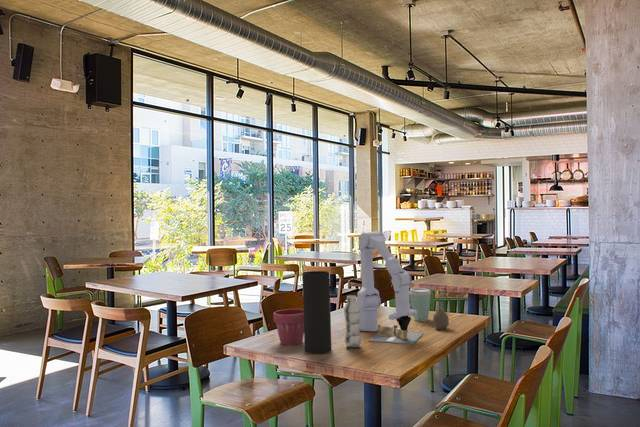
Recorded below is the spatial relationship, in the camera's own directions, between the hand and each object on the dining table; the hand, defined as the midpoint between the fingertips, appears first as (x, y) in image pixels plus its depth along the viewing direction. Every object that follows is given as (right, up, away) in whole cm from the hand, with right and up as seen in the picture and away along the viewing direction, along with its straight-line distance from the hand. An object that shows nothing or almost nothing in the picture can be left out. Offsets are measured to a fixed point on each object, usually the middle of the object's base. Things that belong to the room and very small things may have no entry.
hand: (403, 334), depth 221 cm
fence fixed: (-6, -2, +6) cm, 9 cm away
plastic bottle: (-22, -3, -11) cm, 24 cm away
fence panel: (-1, -1, -1) cm, 2 cm away
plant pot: (-46, -3, 0) cm, 46 cm away
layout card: (-3, -2, +2) cm, 4 cm away
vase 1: (-35, -3, -15) cm, 38 cm away
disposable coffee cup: (+14, -2, +38) cm, 40 cm away
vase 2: (+19, -1, +17) cm, 25 cm away
